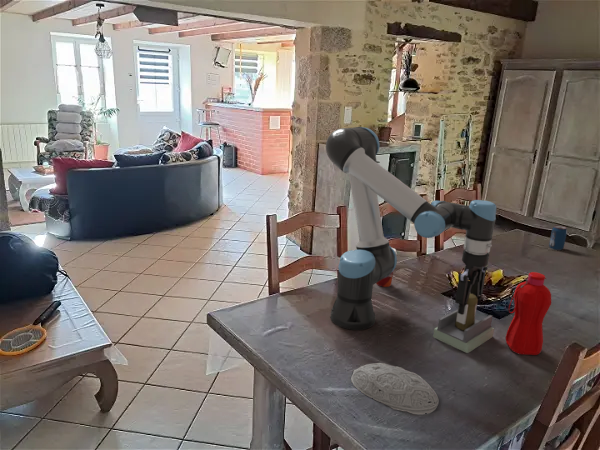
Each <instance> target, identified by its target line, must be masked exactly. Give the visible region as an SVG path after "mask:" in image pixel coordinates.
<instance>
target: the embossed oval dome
mask: <svg viewBox="0 0 600 450" xmlns="http://www.w3.org/2000/svg"><path fill="white" fill-rule="evenodd" d="M350 381H351V384H352V383H353V384H352V385H353V386H354V388H355V387H356V388H357V389H356V388H355V389H356V390H357V391H359V392H360V391H361V394H363V395H365V396H367V397H368V398H371V399H372V398H373V399H372V400H375V401H377V402H378V403H381V404H384V405H385V406H387V407H389V408H391V409H393V410H397V411H401V412H408V413H410V414H412V415H426V414H425V413H427V414H431V413H433V412H434V411H435V410H436V409H438V405H439V403H440V402H439V397H438V394H437V393H436V391H435V390H434V389H433V388H432V387H431V385H430V384H429V383H428V382H427V381H426V380H425V379H424V378H423V377H421V376H420V375H419V374H417V373H415V372H413V371H409V370H406V369H404V368H403V367H401V366H395V365H391V364H387V363H382V362H377V363H375V362H374V363H367V364H365V365H360V367H358V368H356V369H354V370H353V372H352V375H351V378H350Z"/></svg>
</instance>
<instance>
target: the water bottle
mask: <svg viewBox="0 0 600 450" xmlns="http://www.w3.org/2000/svg"><path fill="white" fill-rule="evenodd" d="M545 279H546V280H547V278H546V276H545V275H544V274H542V273H540V272H537V271H532V272H529V273H528V276H527V279H526V281H523V282H520V283H518V284H517V286H516V288H515V290H514V293H513V296H512V298H511V300H510V302H509V305H508V312H509V313H510V314H513V313H514V315H513V318H512V320H511V322H510V324H509V326H508V328H507V332H506V334H505V342H506V345H507V346H508V347H509V349H510V350H511V351H512V352H513V353H515V354H518V355H528V356H531V355H532V356H537V355H539V354H540V353H541V352H542V350H543V345H544V333H543V332H544V331H543V324H544V323H543V322H544V319H545V316H546V314H547V313H548V311H549V310H550V307H551V305H552V293H551V291H550V289H549V288H548V287H547V286H546V285H545V284H544V283H545ZM512 302H514V308H513V310H512V311H510V307H511V304H512Z"/></svg>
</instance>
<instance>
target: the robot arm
mask: <svg viewBox="0 0 600 450" xmlns="http://www.w3.org/2000/svg"><path fill="white" fill-rule="evenodd" d="M379 151H380V139H379V137H378V135H377V134H376V133H375V131H373V130H372V129H371V128H369V127H365V126H364V127H363V126H355V127H342V128H337V129H336V130H334V131H332V133H330V134H329V136H328V137H327V139H326V143H325V152H326V155H327V157H328V159H329V160H330V162H332V164H333V165H334V166H336V167H337V168H338V169H339V170H341V172H343V173H344V174H348V177H349V183H350V190H351V195H352V203H353V208H354V214H355V221H356V226H357V233H358V239H359V240H358V242H356V244H355V248H356V249H354V250H353V249H351V250H348V251H345V252H344V253H342V254H341V256H340V258H339V263H338V269H337V270H338V273H337V274H338V275H337V291H336V299H335V301H334V303H333V305H332V308H331V310H330V320H331V322H332V323H333V324H335V326H338V327H340V328H343V329H347V330H353V331H354V330H355V331H357V330H358V331H360V330H361V331H362V330H365V329H369V328H371V327H372V326H373V325H375V322H376V313H375V311H374V307H373V299H372V296H373V288H374V287H373V286H374V285H376V283H377V282H379V281H380V280H382V279H383V278H386V277H387V276H389V275H390V274H391V273H392V272H393V273H394V270H395V269H396V267H397V264H398V257H397V255H396V253H395V251H394V250H393V249H392V248H393V247H391V245H390V241H389V239H388V238H387V237H385V236H384V231H383V230H384V229H383V225H382V224H383V223H382V218H381V210H380V205H379V198H378V197H380V198H381V199H382V200H384V201H385V202H386V203H387V204H388V205H390V206H392V208H394V209H395V210H396V211H398V212H399V214H401V215H402V216H404V217H405V218H406V219H408V220H409V221H410V222H412V223H413V224H414V225H413V226H414V228H415V231H416V233H417V234H418V235H419V236H420V237H422V238H424V239H425V238H426V239H431V238H434V237H437V236H440V235H441V234H442V233H443V232H445V231H447V230H448V229H450V228H453V229H458V230H461V231H463V230H465V237H464V243H463V250H462V256H461V261H462V263H464V265H465V266H464V269H463V272H462V273H461V272H460V273H458V275H457V276H458V278H457V279H458V281H457V288H456V292H455V293H456V294H455V300H454V302H455V304H458V308H457V309H458V313H457V320H456V321H457V322H460V323H462V324H465V323H466V316H467V310H468V305H467V302H468V298H469V295H470V293H471V294H474V295H475V296H476V297H477V299H478V301H481V300H482V296H483V292H484V285H485V280H486V279H485V278H486V274H487V270H488V263H489V258H490V254H489V253H491V252H490V251H491V248H492V247H493V245H492V240H493V234H494V228H495V223H496V219H497V218H496V215H497V205H496V204H495V202H492V201H490V200H483V199H482V200H480V199H474V200H471V201H470V203H469V205H465V204H460V203H455V202H454V203H453V202H451V201H450V202H449V201H445V200H433V201H432V202H431V203H430V202H429V201H427V199H425V198H423V197H422V196H421V195H420V194H418V193H417V192H416V191H415V190H414V189H412V188H410V186H408V185H407V184H406V183H404V182H403V181H401V180H400V179H399V178H397V177H396V176H395V175H393V174H392V173H391V172H390V171H388V170H387V169H386V168H385V167H383V166H382V165H380V164H379V163H378V162H377V156H378V153H379ZM477 307H478V303H477V304H476V306H475V314H477V313H476V312H477Z"/></svg>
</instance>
